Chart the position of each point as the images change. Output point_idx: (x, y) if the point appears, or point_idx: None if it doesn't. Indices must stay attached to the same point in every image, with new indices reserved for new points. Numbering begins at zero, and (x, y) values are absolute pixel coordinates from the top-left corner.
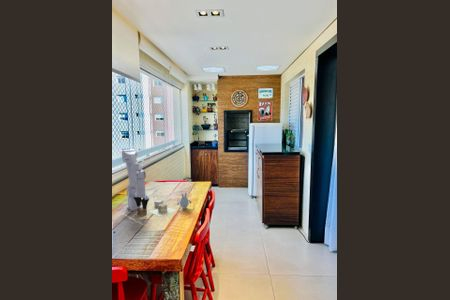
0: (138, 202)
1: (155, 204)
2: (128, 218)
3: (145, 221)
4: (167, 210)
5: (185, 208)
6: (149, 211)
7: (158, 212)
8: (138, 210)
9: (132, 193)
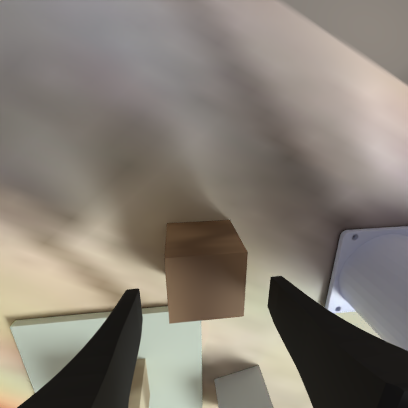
0: (298, 331)
1: (257, 395)
2: (214, 116)
3: (5, 199)
4: None
5: None
6: None
7: None
8: (213, 246)
9: None
